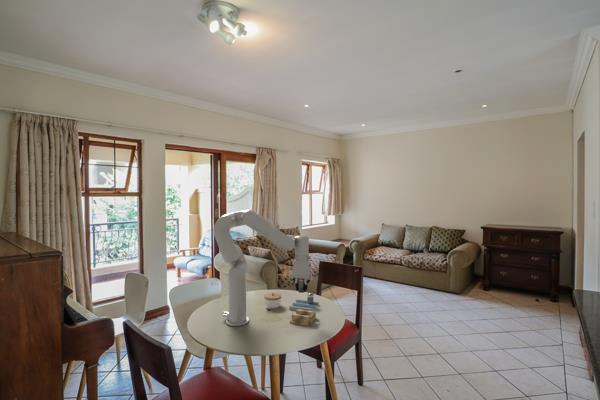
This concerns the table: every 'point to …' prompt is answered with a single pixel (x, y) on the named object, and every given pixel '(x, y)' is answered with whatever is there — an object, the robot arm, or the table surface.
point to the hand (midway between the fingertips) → (301, 290)
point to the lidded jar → (272, 300)
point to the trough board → (304, 305)
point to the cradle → (303, 317)
